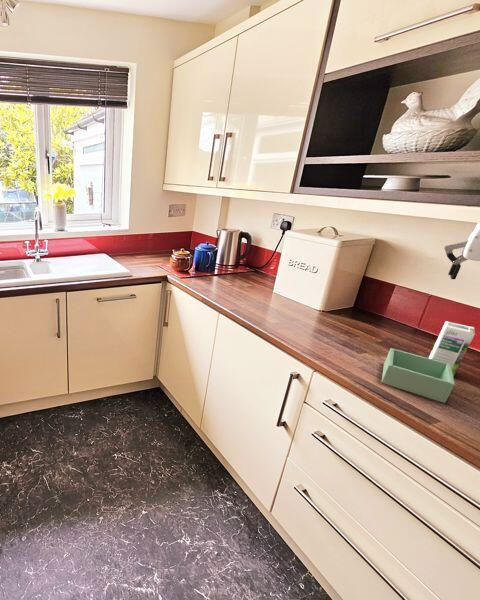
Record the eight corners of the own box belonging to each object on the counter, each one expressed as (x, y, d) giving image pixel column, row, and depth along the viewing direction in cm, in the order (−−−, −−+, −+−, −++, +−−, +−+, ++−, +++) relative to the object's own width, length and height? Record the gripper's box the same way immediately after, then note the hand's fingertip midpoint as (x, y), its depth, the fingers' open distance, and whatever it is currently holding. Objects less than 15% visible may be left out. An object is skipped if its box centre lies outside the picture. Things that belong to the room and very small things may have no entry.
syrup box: (425, 369, 100) (446, 326, 94) (426, 362, 104) (446, 319, 98) (452, 377, 96) (476, 333, 90) (452, 369, 100) (474, 326, 94)
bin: (441, 381, 94) (450, 364, 92) (445, 403, 86) (454, 384, 84) (383, 364, 102) (390, 347, 100) (381, 382, 94) (388, 365, 91)
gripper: (460, 214, 86) (433, 278, 92) (572, 222, 75) (533, 293, 81) (457, 212, 91) (432, 272, 97) (561, 218, 80) (525, 285, 87)
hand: (478, 282), depth 89 cm, fingers open, 9 cm apart
